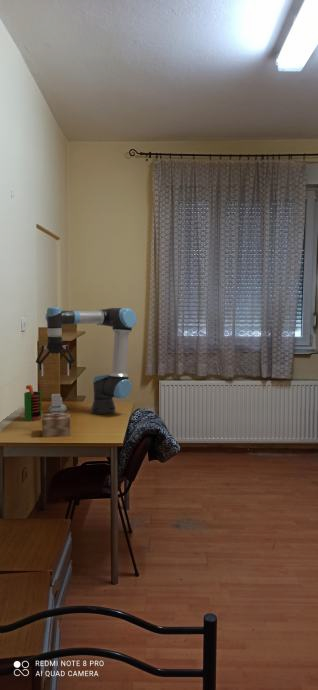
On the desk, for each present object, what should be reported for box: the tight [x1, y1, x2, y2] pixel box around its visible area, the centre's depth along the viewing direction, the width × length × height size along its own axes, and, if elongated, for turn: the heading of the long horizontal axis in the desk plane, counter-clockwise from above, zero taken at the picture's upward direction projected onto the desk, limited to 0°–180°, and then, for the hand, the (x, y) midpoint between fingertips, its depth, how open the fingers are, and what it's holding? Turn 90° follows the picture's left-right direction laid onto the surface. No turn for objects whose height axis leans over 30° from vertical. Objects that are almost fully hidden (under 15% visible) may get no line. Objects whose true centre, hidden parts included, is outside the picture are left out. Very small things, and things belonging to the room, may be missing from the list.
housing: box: [41, 412, 71, 438], centre depth 269 cm, size 14×14×10 cm
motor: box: [23, 384, 42, 422], centre depth 301 cm, size 10×9×20 cm
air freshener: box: [48, 396, 68, 414], centre depth 317 cm, size 11×8×10 cm
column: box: [51, 393, 61, 417], centre depth 269 cm, size 5×5×20 cm
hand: (55, 375), depth 277 cm, fingers open, 13 cm apart
